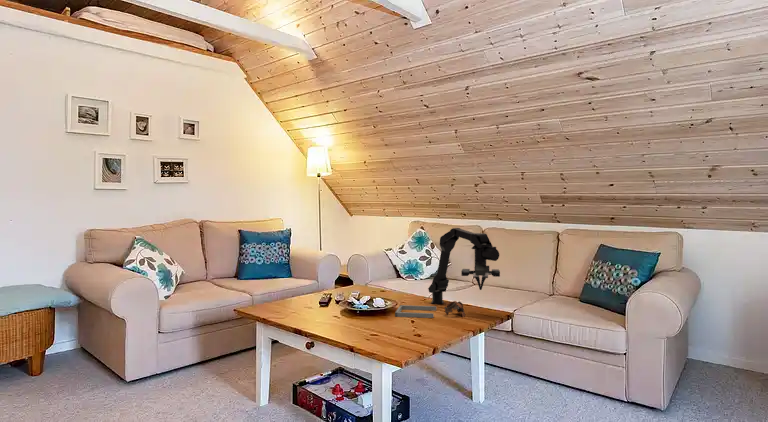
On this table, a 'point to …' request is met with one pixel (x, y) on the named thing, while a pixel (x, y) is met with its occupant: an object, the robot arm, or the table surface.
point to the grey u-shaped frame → (421, 315)
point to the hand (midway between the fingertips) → (480, 289)
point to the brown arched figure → (455, 307)
